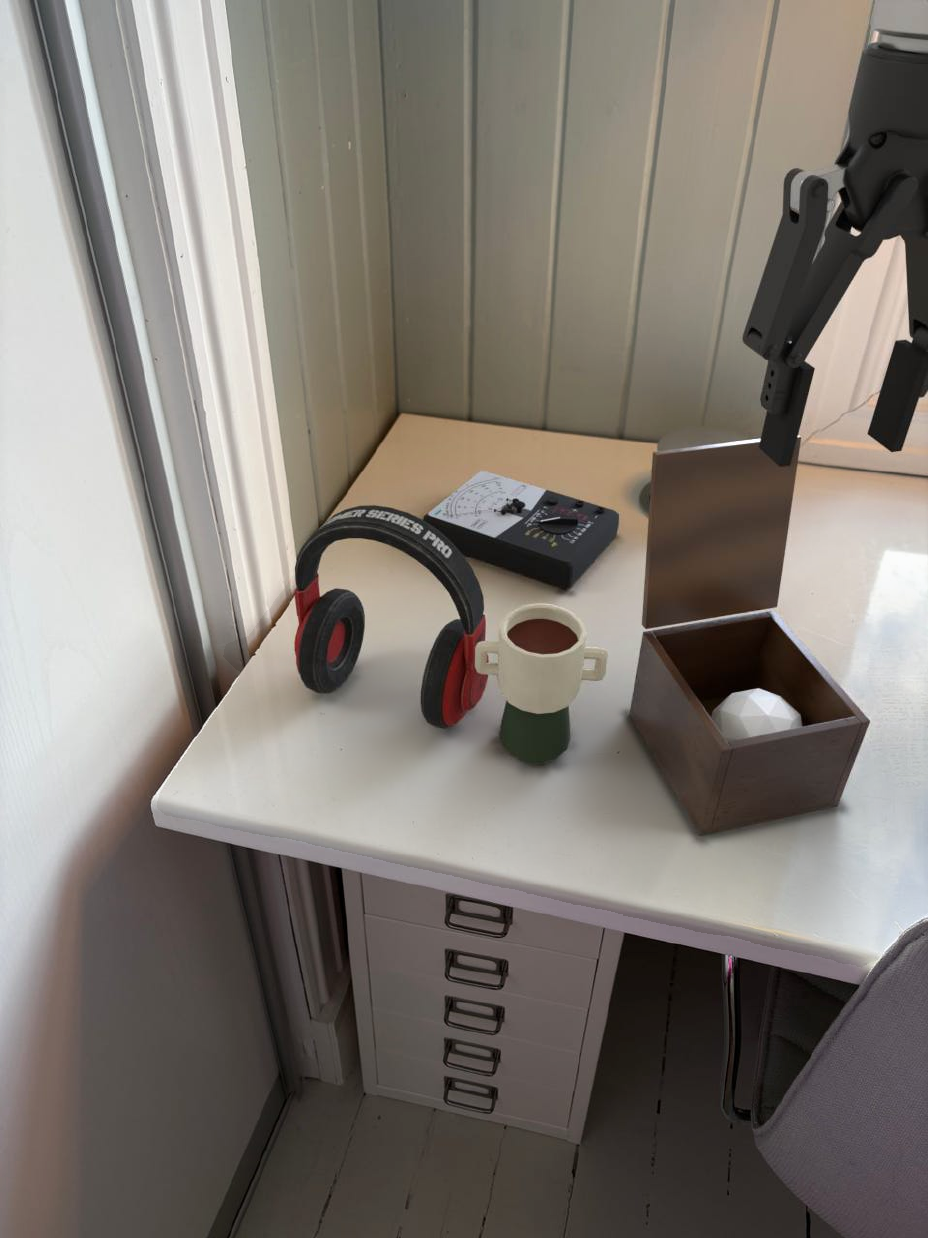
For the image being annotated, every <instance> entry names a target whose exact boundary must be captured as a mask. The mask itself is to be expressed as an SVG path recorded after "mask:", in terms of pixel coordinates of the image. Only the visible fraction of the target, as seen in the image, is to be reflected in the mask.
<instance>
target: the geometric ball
mask: <svg viewBox="0 0 928 1238" xmlns="http://www.w3.org/2000/svg"><path fill="white" fill-rule="evenodd" d="M711 719H712V720H713V722H714V723H715V725H716V726H717V728H718V729H719V731H720V732H721V734H722V735H723V737H724V738H725V740H726V741H727V742H729V741H734V740H739V739H744V738H749V737H754V736H759V735H764V734H769V733H774V732H779V731H784V730H789V729H794V728H800V727H802V721H801V715H800V714H799V713H798V712H797V711H796V710H795V709H794V708H793V707H792V706H790V705H789V704H788V703H787V702H786V701H785V700H784V699H783V698H782V697H781V696H779V695H776V694H773V693H770V692H768V691H765V690H762V689H759V688H757V689H752V690H746V691H741V692H736V693H732V694H731V695H730V696H728V697H727V698H726V699H725V700H724V701H723V702H722V703H721V704H720V705H719V706H717V707H716V708H715V709H714V710H713V712H712V716H711Z"/></svg>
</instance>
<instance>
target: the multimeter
mask: <svg viewBox="0 0 928 1238" xmlns="http://www.w3.org/2000/svg"><path fill="white" fill-rule="evenodd" d="M422 520H424V521H426V522H427V523H429V524H430V525H431V526H433V527H434V528H436V529H437V530H439V531H440V532H441V533H442V534H443V535H444V536H446V537H447V538H448V539H449V540H450V541H451V542H452V543H453V544H454V545H455V546H456V548H457V549H458V550H459V551H460V552H461V553H462V555H463V556H467V557H470V558H473V559H475V560H479V561H481V562H484V563H487V564H490V565H493V566H496V567H498V568H501V569H504V570H507V571H510V572H513V573H516V574H518V575H522V576H523V577H527V578H530V579H531V580H535V581H538V582H540V583H544V584H546V585H549V586H553V587H555V588H557V589H561V590H569V589H571V588H572V587H573V586H574V585H575V584H576V583H577V581H578V580H580V578H581V577H582V576H583V575H584V573H586V572H587V570H588V569H589V568H590V567H591V565H593V563H594V562H595V561H596V560H597V559H598V558H599V557H600V556H601V554H602V553H603V552H604V551H605V550H606V549H607V547H609V546H610V544H611V543H612V542H613V541H614V540H615V539H616V538H617V536H618V535H617V534H618V530H619V527H620V526H619V525H620V513H618V512H617V511H616V510H614V509H611V508H608V507H605V506H602V505H598V504H595V503H592V502H588V501H585V500H581V499H578V498H575V497H571V496H568V495H565V494H562V493H559V492H555V491H552V490H550V489H545V488H543V487H539V486H535V485H532V484H529V483H526V482H522V481H519V480H515V479H512V478H509V477H507V476H503V475H499V474H496V473H492V472H490V471H486V470H480V471H478V472H476V473H475V474H474V475H473V476H472V477H470V478H469V479H468V480H467V481H465V482H464V483H463V484H462V485H460V486H459V487H458V488H457V489H456V490H454V491H453V492H452V493H451V494H450V495H448V496H447V497H446V498H444V499H443V500H442V501H440V502H439V503H438V504H437V505H435V506H434V507H433V508H432V509H431V510H429V511H428V512H427V513H425V514H424V515H423V519H422Z"/></svg>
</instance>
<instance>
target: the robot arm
mask: <svg viewBox="0 0 928 1238" xmlns="http://www.w3.org/2000/svg"><path fill="white" fill-rule="evenodd" d="M869 26H870V28H871V30H872V31H873V32H875V33H877V34H879V35H878V38H877V41H875V42H871V43H869V44H868V45H867V47H866V49H864V50H862V51H861V56H860V60H859V64H858V68H857V73H856V77H855V81H854V86H853V90H852V94H851V98H850V102H849V107H848V112H847V113H848V115H847V116H848V124H849V126H848V127H849V130H848V137H847V140H846V143H845V144H844V146H843V148H842V150H841V151H840V153H839V154H838V156H837V157H836V159H835V161H834V163H833V165H829V166H825V167H822V168H819V169H816V170H815V169H814V170H813V171H806V170H803V169H801V168H800V167H795V168H792V169H790V170H789V171H788V172H787V173H786V175H785V177H784V179H783V189H782V190H783V192H782V214H781V217H780V221H779V224H778V227H777V230H776V233H775V236H774V239H773V243H772V245H771V248H770V252H769V254H768V258H767V261H766V264H765V266H764V269H763V273H762V276H761V279H760V282H759V285H758V288H757V291H756V294H755V297H754V301H753V303H752V306H751V310H750V312H749V315H748V319H747V322H746V325H745V327H744V330H743V333H742V337H741V338H742V339H741V340H742V343H743V344H744V345H745V346H746V347H748V348H749V349H750V350H752V351H753V352H755V354H757V355H759V356H760V357H761V358H762V359H764V360H765V361H767V365H766V369H765V374H764V379H763V385H762V388H761V392H760V397H759V401H760V406H761V407H762V408H763V409H764V410H766V412H765V418H764V423H763V427H762V431H761V435H760V439H761V440H760V444H759V448H760V449H761V450H762V451H763V452H764V453H765V454H766V455H767V456H768V457H769V458H771V459H772V460H773V461H774V462H775V463H776V464H777V465H778V466H779V467H783V466H790V465H791V461H792V457H793V453H794V449H795V445H796V441H797V438H798V436H799V434H800V430H801V426H802V421H803V418H804V413H805V410H806V406H807V403H808V402H807V401H808V397H809V394H810V390H811V385H812V381H813V377H814V374H815V369H816V368H815V367H814V366H812V364H810V363H809V362H807V361H806V359H807V358H808V356H809V355H810V352H811V351H812V350H813V347H814V346H815V344H816V342H817V341H818V339H819V337H820V336H821V334H822V333H823V331H824V330H825V327H826V326H827V324H828V322H829V320H830V319H831V318H832V315H833V314H834V312H835V310H836V309H837V307H838V306H839V304H840V302H841V301H842V299H843V297H844V295H845V294H846V292H847V290H848V289H849V287H850V285H851V283H852V282H853V280H854V279H855V277H856V275H857V274H858V272H859V270H860V268H861V267H862V265H863V263H865V261H866V260H867V259H871V258H872V257H874V255H875V254H876V253H877V252H878V250H879V249H880V246H881V245H882V244H883V242H884V241H888V240H891V239H894V238H897V237H899V236H900V238H901V239H902V240H903V242H904V248H905V249H904V251H905V253H904V254H905V272H906V293H907V312H908V313H907V314H908V333H909V336H910V338H911V339H912V340H911V341H909V340H908V339H897V340H895V341H894V344H893V348H892V351H891V355H890V358H889V361H888V364H887V366H886V367H887V368H886V371H885V374H884V377H883V380H882V384H881V387H880V391H879V394H878V397H877V400H876V404H875V406H874V410H873V414H872V417H871V419H870V424H869V427H868V430H867V435H868V436H869V437H870V438H872V440H874V441H875V442H877V443H879V445H881V446H883V447H884V448H885V449H887V450H888V451H889V453H897V452H898V453H899V452H902V451H903V448H904V445H905V441H906V439H907V435H908V433H909V430H910V427H911V423H912V421H913V417H914V415H915V411H916V408H917V405H918V402H919V399H920V398H924V397H925V396H926V395H927V393H928V0H874V3H873V6H872V12H871V16H870V21H869ZM837 193H838V196H839V198H840V203H839V205H838V206H837V207H836V201H835V200H834V199H835V196H836V195H837ZM835 207H836V209H834V208H835ZM833 210H835V211H834V214H833V215H832V217H831V218H830V221H829V222H828V224H827V226H826V222H827V214H828V213H829V212H832V211H833ZM825 226H826V227H825ZM852 229H853V230H854V231H856V232H858V233H859V234H858V235H855V234H853V233H852ZM823 233H824V235H823ZM823 236H824V242H823V244H822V245H821V247H820V249H819V251H817V250H818V248H819V246H820V242H821V239H822V237H823ZM817 252H818V253H817Z"/></svg>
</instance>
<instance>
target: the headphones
mask: <svg viewBox="0 0 928 1238" xmlns="http://www.w3.org/2000/svg"><path fill="white" fill-rule="evenodd" d="M348 539H361V540H368V541H375V542H378V543H381V544H385V545H387V546H390V547H392V548H394V549H395V550H399V551H401V552H402V553H404V554H406V555H407V556H409V557H411V558H412V559H414V560H415V561H416V562H418V563H419V564H421V565H422V566H423V567H425V568H426V569H427V570H428V571H429V572H430V573H431V574H432V575H433V576H434V578H436V579H437V581H439V583H441V585H442V586H443V588H444V589H445V590H446V591H447V592H448V595H449V596H450V598H451V600H452V602H453V604H454V606H455V608H456V611H457V614H458V616H459V618H455V619H453V620H451V621H449V622H448V623H446V624H445V625H444V626H443V627H442V629H441V630H440V631H439V633H438V635H437V636H436V638H435V640H434V642H433V644H432V646H431V649H430V651H429V655H428V657H427V660H426V663H425V667H424V670H423V675H422V681H421V688H420V700H419V701H420V702H419V703H420V710H421V713H422V717H423V718H424V720H425V721H426V723H427V724H429V725H430V726H432V727H435V728H436V729H443V730H444V729H447V728H451V727H452V726H453V725H455V724H457V723H459V722H460V721H461V720H462V719H463V718H464V717H465V715H466V714H467V712H468V711H470V710H473V709H474V708H475V707H476V706H477V704H478V703H479V702H480V701H481V699H482V697H483V694H484V693H485V690H486V687H487V683H488V680H489V675H486V674H480V673H478V672H477V671H476V668H475V647H476V645H477V643H479V642H482V641H486V635H487V633H486V632H487V631H486V629H487V622H486V614H484V612H485V599H484V593H483V590H482V588H481V587H482V586H481V584H480V582H479V579H478V577H477V576H476V573H475V571H474V569H473V568H472V566H471V564H470V563H469V562H468V560H467V558H466V556H465V555H464V554H462V553H461V552H460V551H459V550H458V549H457V548H456V546H455V545H454V544H453V543H452V542H451V541H450V540H449V539H448V538H447V537H446V536H444V535H443V534H442V533H441V532H440V531H439V530H437V529H436V528H434V527H433V526H431V525H430V524H429V523H427V522H426V521H424V520H423V519H422V518H420V517H418V516H416V515H414V514H412V513H409V512H408V511H403V510H399V509H397V508H393V507H389V506H382V505H375V504H370V505H357V506H354V507H350V508H346V509H343V510H341V511H339V512H337V513H335V514H333V515H332V516H330V517H329V518H328V519H327V520H326V521H325V522H324V523H323V524H321V526H320V527H318V528H317V530H316V531H314V533H312V535H310V537H309V538H307V540H306V541H305V543H304V544H303V545H302V546H301V548H300V550H299V552H298V554H297V557H296V560H295V565H294V580H295V587H296V588H295V589H294V603H295V611H296V616H297V622H298V625H297V629H296V632H295V636H294V644H293V645H294V647H293V648H294V654H295V665H296V669H297V672H298V675H299V677H300V680H301V681H302V683H303V685H304V686H305V688H307V689H308V690H310V691H313V692H315V693H317V694H330V693H333V692H334V691H336V690H338V689H340V688H341V687H342V686H343V684H345V682H346V681H347V680H348V678H349V677H350V676H351V674H352V673H353V670H354V668H355V666H356V664H357V662H358V658H359V656H360V653H361V651H362V646H363V642H364V637H365V627H366V614H365V609H364V605H363V603H362V601H361V599H360V597H359V596H358V595H357V594H356V593H354V592H353V591H351V590H349V589H345V588H337V587H336V588H333V589H330V590H328V591H326V592H325V593H324V594H322V595H321V594H320V584H319V583H320V582H319V581H320V577H319V576H320V574H319V568H320V563H321V559H322V556H323V554H324V552H325V551H326V550H327V549H328V547H329V546H330V545H332V544H333V543H335V542H337V541H342V540H348ZM487 663H490V661H489V653H487Z"/></svg>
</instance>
